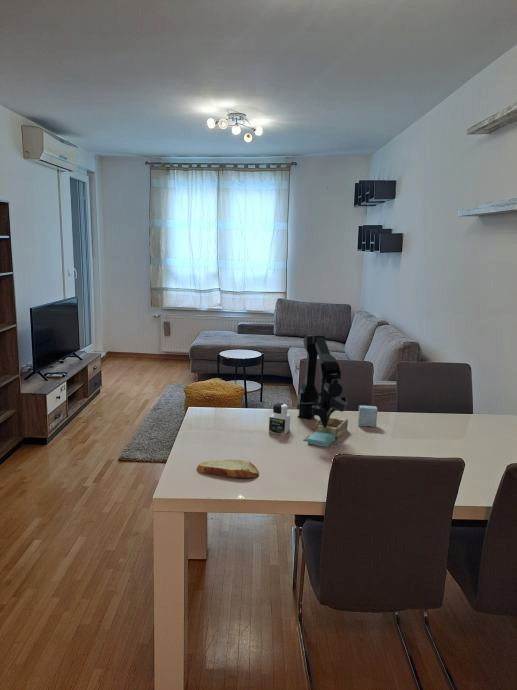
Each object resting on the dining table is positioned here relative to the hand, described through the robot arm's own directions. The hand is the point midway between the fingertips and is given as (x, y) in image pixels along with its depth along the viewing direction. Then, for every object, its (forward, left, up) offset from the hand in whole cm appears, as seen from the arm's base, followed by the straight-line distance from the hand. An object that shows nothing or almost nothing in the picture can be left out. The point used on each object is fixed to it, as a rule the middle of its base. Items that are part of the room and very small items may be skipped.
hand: (325, 427), depth 216 cm
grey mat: (0, -3, -5) cm, 6 cm away
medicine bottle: (-20, 0, -6) cm, 21 cm away
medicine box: (+11, +28, -6) cm, 30 cm away
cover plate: (0, -3, -5) cm, 6 cm away
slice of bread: (-19, -48, -6) cm, 52 cm away
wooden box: (0, +10, -5) cm, 11 cm away
